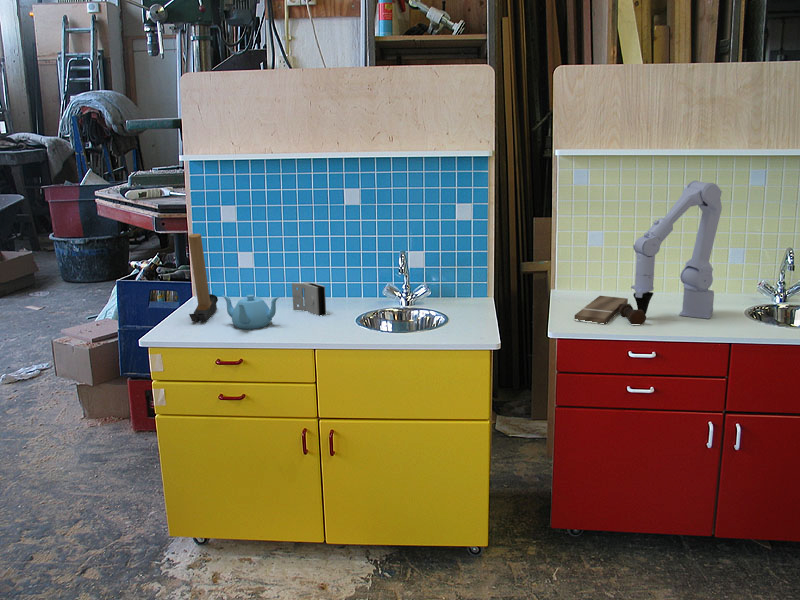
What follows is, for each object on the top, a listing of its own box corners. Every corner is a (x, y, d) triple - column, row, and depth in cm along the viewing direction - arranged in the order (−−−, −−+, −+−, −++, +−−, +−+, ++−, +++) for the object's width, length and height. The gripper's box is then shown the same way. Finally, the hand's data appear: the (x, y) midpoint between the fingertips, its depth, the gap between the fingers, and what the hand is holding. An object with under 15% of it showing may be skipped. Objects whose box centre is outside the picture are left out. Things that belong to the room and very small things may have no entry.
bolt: (623, 318, 256) (639, 329, 241) (610, 312, 255) (626, 322, 240) (632, 304, 255) (649, 313, 240) (619, 297, 254) (636, 306, 240)
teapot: (264, 317, 260) (262, 288, 257) (283, 326, 247) (281, 296, 245) (223, 324, 252) (221, 294, 249) (241, 334, 240) (238, 302, 237)
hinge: (292, 310, 267) (291, 283, 265) (303, 307, 271) (302, 280, 269) (320, 316, 259) (319, 288, 256) (331, 313, 263) (330, 285, 261)
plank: (627, 303, 267) (627, 298, 267) (604, 324, 242) (605, 318, 242) (599, 300, 272) (599, 295, 272) (574, 321, 247) (574, 314, 247)
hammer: (206, 329, 253) (194, 246, 241) (191, 329, 253) (178, 246, 241) (219, 304, 272) (208, 225, 259) (205, 304, 272) (194, 225, 259)
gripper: (637, 268, 252) (635, 307, 256) (626, 277, 240) (624, 318, 243) (659, 270, 249) (656, 310, 252) (649, 279, 237) (646, 320, 240)
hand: (642, 314), depth 248 cm, fingers closed
